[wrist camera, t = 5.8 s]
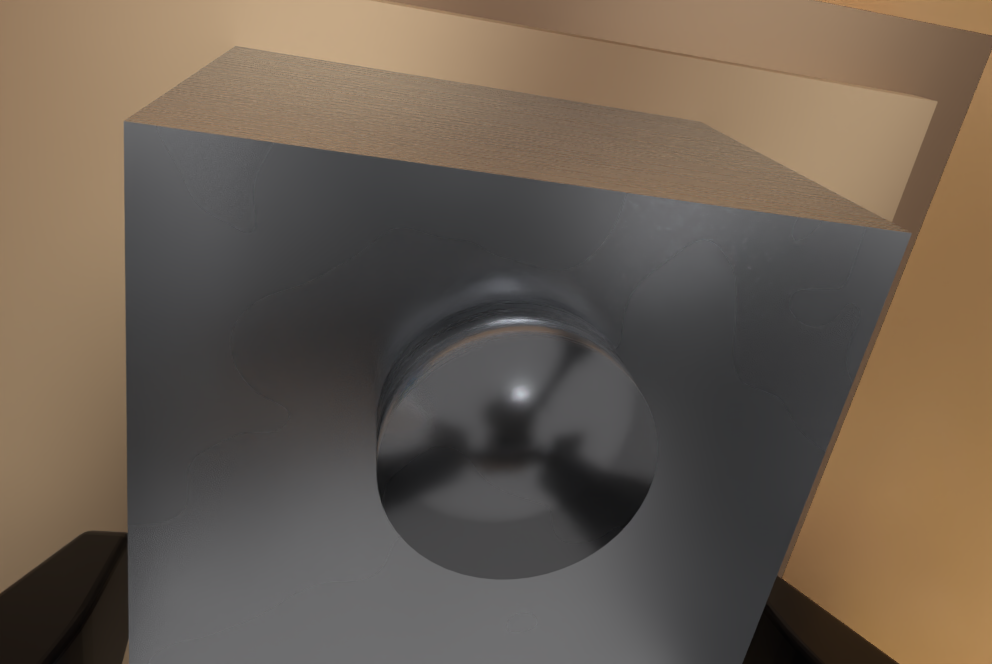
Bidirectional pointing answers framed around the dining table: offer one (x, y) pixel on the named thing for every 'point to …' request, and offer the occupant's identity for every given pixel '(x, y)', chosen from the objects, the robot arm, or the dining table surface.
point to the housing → (469, 371)
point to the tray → (417, 51)
